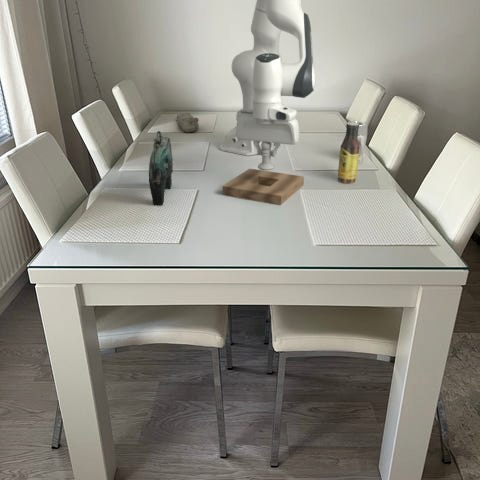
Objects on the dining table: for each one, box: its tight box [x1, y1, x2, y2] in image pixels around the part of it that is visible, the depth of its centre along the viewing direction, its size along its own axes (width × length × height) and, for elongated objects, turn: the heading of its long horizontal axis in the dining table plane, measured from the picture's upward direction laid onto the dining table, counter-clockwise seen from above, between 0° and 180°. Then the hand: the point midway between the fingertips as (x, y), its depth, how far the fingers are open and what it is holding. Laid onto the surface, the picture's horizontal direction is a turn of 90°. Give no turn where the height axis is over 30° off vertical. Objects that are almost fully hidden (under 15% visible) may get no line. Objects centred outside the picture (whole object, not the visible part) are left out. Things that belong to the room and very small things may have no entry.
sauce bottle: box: [337, 121, 360, 184], centre depth 164 cm, size 7×6×20 cm
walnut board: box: [221, 168, 305, 206], centre depth 161 cm, size 20×20×3 cm
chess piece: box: [257, 142, 275, 171], centre depth 156 cm, size 5×5×9 cm
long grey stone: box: [175, 112, 200, 133], centre depth 245 cm, size 35×5×10 cm
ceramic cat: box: [148, 130, 174, 206], centre depth 153 cm, size 20×6×20 cm, turn 178°
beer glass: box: [353, 120, 369, 166], centre depth 184 cm, size 7×7×15 cm
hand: (266, 155), depth 156 cm, fingers closed on chess piece, 3 cm apart
